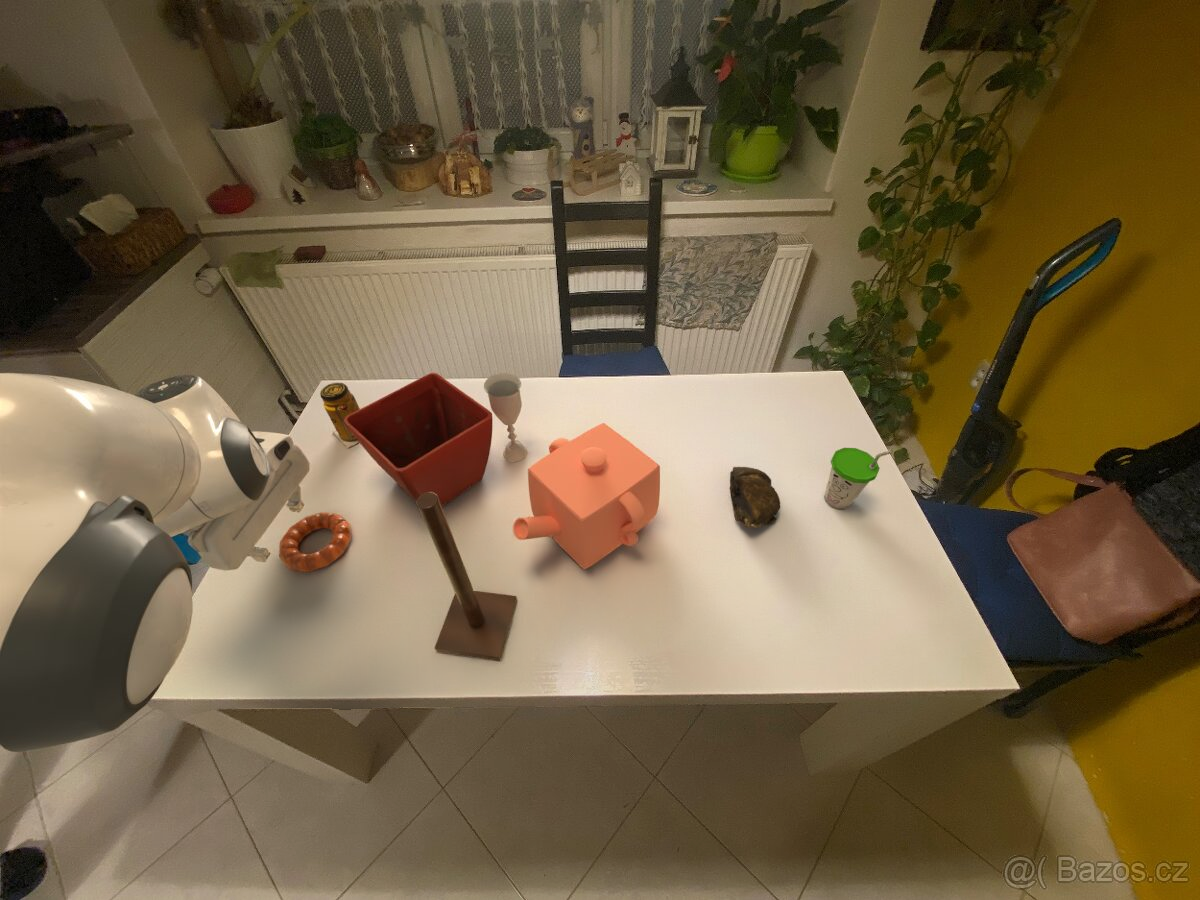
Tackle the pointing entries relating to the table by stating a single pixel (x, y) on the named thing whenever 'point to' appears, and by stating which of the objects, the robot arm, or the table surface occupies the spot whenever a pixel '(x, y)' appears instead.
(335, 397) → the condiment
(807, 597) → the table surface
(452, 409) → the flower pot
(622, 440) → the teapot
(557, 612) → the table surface
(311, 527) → the ring
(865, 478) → the cup
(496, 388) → the chalice
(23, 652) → the robot arm
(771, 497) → the dark brown irregular lump
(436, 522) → the stand
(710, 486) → the table surface
